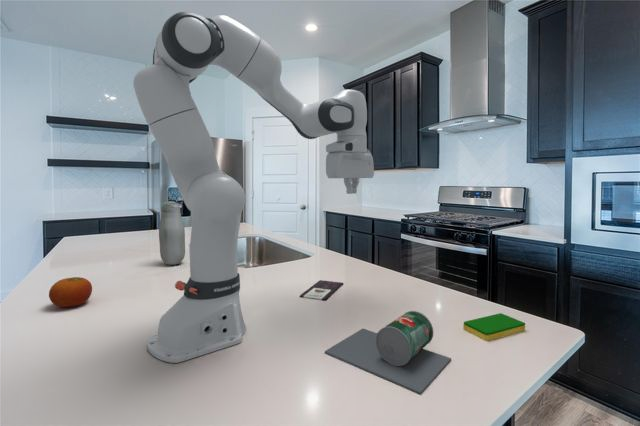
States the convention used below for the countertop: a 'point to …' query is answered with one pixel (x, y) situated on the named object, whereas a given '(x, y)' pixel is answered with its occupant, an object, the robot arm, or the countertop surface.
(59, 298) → the fruit
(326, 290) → the chocolate bar
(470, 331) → the dish sponge
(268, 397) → the countertop surface
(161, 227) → the grey bottle
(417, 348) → the canned tomato
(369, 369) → the rubber mat
